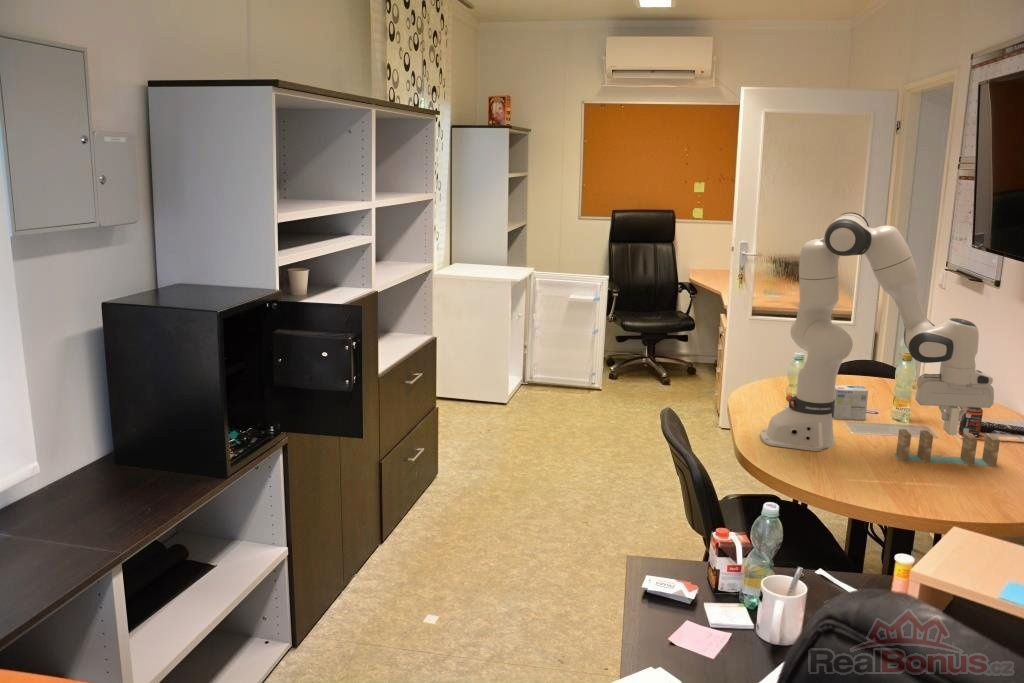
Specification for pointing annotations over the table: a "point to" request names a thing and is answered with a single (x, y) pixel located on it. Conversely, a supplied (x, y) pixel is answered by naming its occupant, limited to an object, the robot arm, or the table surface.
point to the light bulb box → (850, 402)
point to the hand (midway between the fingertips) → (951, 420)
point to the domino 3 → (951, 420)
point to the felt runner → (945, 460)
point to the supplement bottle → (971, 421)
